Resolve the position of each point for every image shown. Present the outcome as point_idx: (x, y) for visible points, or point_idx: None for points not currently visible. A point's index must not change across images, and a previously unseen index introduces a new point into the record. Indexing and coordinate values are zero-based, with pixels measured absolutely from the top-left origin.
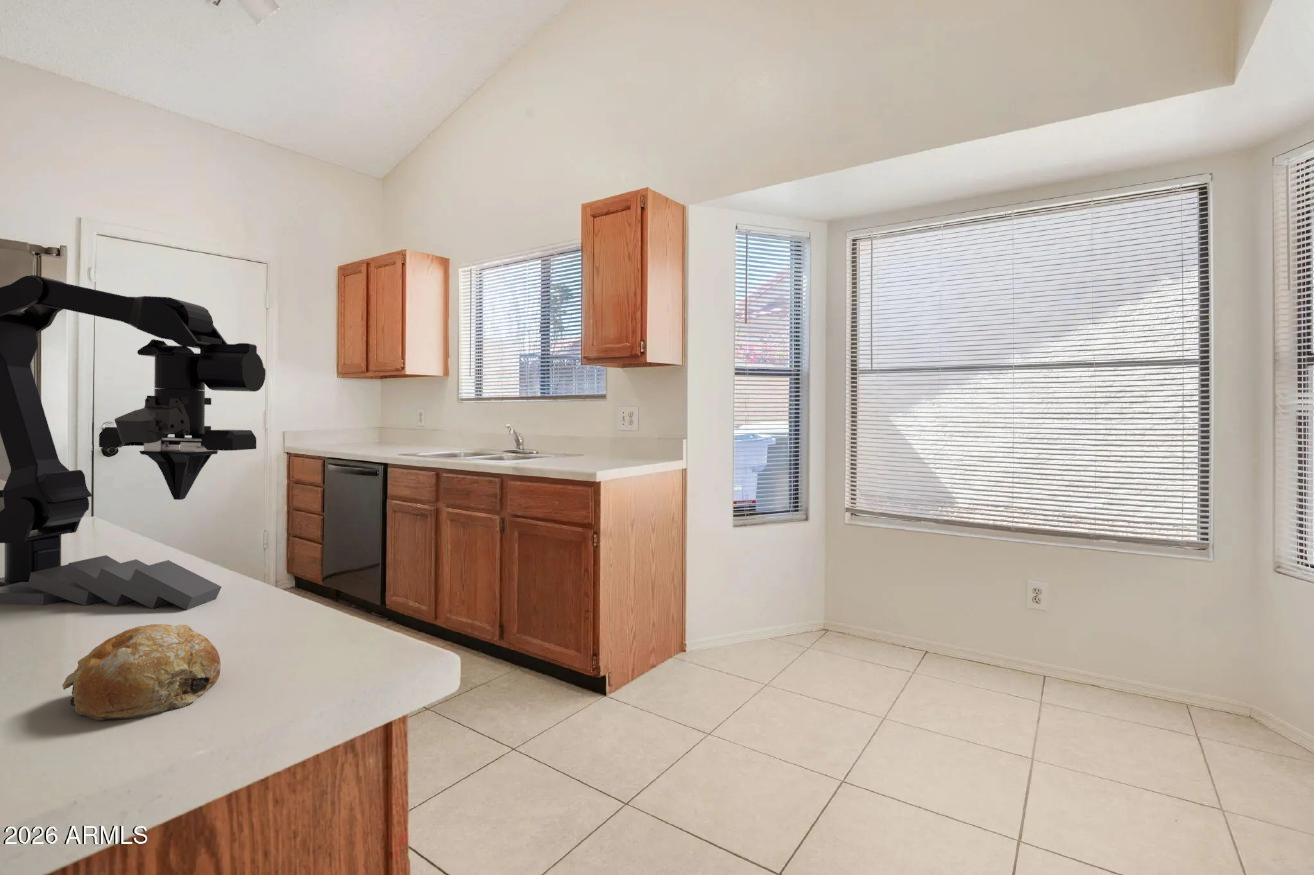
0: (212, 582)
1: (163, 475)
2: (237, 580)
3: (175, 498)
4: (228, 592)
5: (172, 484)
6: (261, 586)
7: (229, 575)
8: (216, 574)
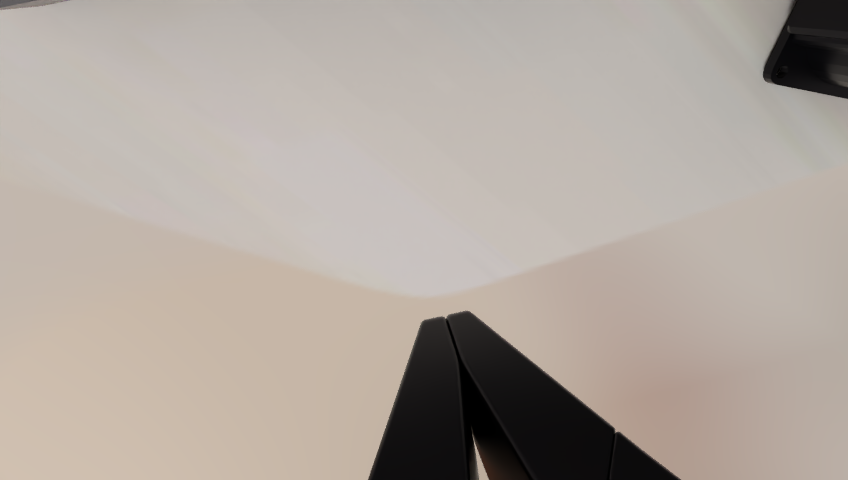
0: (11, 2)
1: (631, 444)
2: (251, 231)
3: (453, 316)
4: (108, 100)
5: (488, 388)
6: (92, 200)
7: (337, 267)
8: (386, 263)
